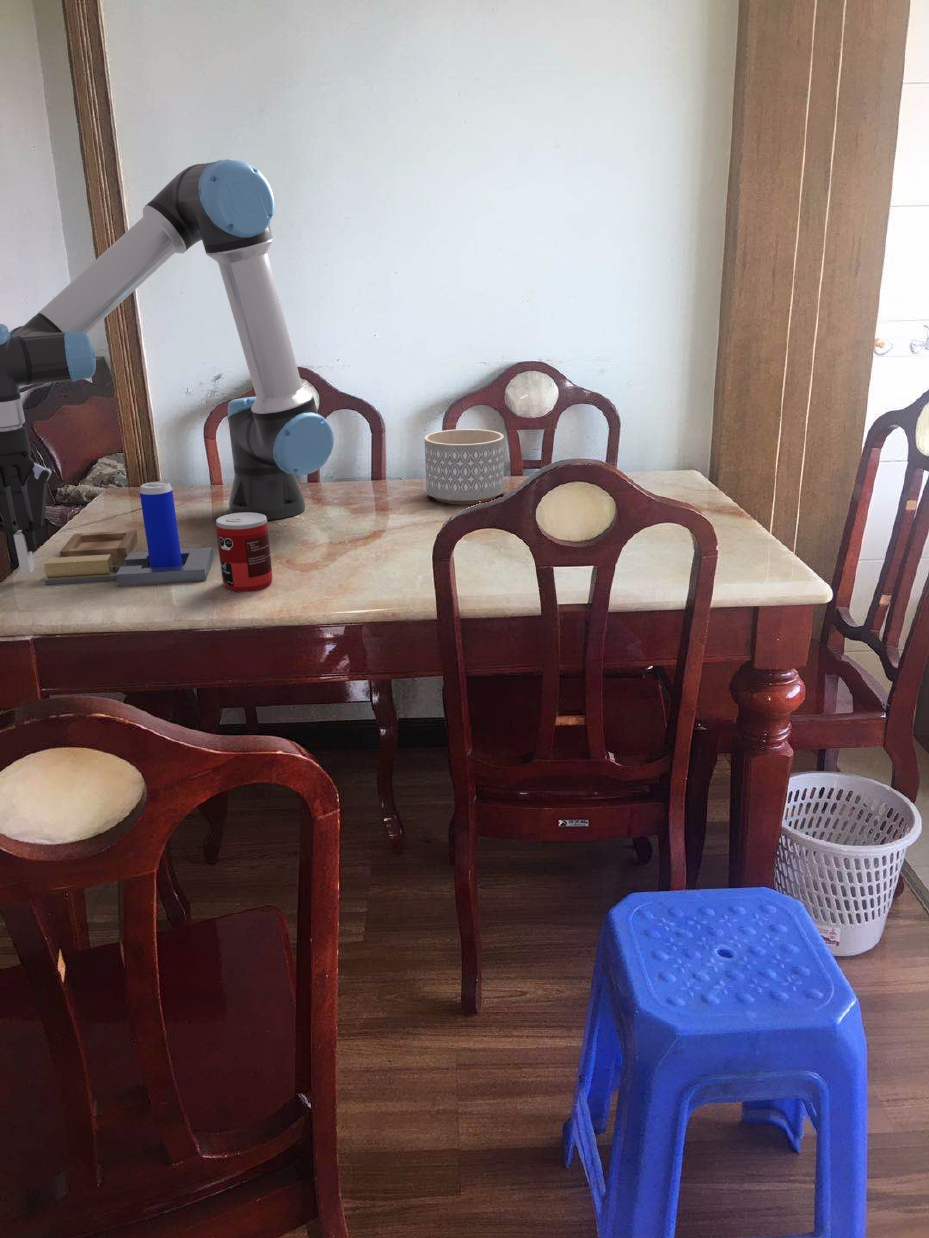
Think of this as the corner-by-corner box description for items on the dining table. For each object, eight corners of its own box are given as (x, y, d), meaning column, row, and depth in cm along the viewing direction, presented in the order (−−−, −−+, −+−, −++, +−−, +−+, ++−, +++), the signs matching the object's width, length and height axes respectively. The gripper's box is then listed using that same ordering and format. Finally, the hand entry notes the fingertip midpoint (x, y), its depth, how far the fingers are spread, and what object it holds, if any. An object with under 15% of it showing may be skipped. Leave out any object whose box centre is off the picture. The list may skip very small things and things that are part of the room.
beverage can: (189, 569, 169) (178, 482, 163) (169, 578, 164) (156, 489, 159) (165, 565, 171) (153, 479, 165) (144, 574, 167) (131, 487, 161)
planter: (457, 483, 221) (455, 426, 216) (519, 493, 212) (519, 433, 207) (410, 499, 209) (408, 439, 204) (474, 510, 200) (473, 447, 195)
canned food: (226, 577, 164) (219, 513, 160) (275, 575, 165) (269, 511, 161) (219, 593, 157) (211, 526, 153) (270, 591, 158) (264, 524, 154)
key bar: (113, 571, 168) (110, 554, 167) (110, 577, 165) (107, 559, 164) (51, 575, 167) (48, 558, 166) (47, 580, 164) (44, 563, 163)
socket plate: (213, 558, 174) (211, 547, 173) (205, 580, 163) (204, 569, 162) (58, 567, 171) (56, 556, 170) (40, 591, 160) (38, 579, 159)
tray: (138, 544, 183) (136, 530, 182) (128, 562, 173) (125, 547, 172) (76, 547, 182) (74, 533, 181) (62, 566, 171) (59, 551, 170)
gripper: (-52, 434, 152) (-21, 580, 160) (37, 429, 153) (63, 575, 162) (-36, 425, 158) (-7, 565, 167) (49, 421, 160) (74, 560, 169)
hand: (27, 570), depth 164 cm, fingers closed
